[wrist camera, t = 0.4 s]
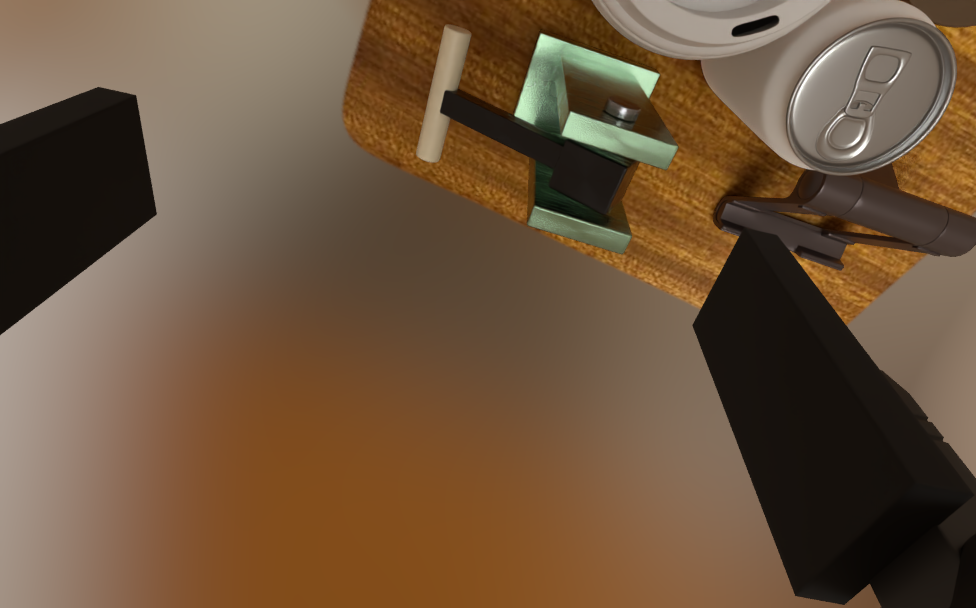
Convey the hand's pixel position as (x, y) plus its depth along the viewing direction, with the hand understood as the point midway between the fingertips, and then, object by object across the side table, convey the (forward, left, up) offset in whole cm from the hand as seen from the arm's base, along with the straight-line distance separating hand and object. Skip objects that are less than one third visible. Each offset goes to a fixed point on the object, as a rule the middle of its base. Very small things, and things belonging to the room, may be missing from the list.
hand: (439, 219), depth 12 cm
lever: (+3, +1, -14) cm, 15 cm away
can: (+3, +14, -23) cm, 27 cm away
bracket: (+4, +4, -23) cm, 23 cm away
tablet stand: (+12, +17, -23) cm, 31 cm away
